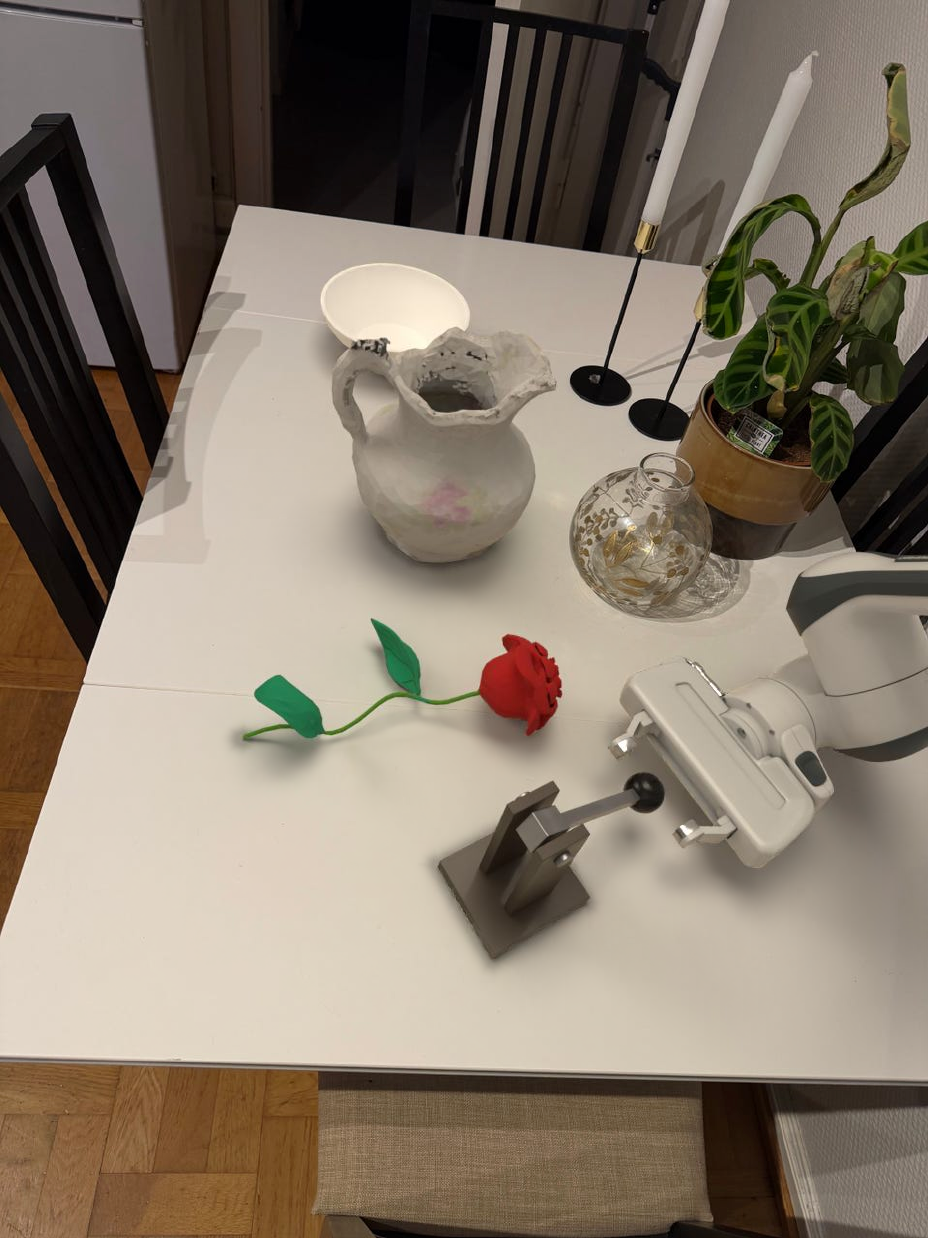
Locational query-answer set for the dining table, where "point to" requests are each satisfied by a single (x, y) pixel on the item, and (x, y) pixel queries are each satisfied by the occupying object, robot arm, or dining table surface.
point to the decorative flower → (507, 686)
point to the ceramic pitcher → (445, 439)
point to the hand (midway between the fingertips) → (645, 794)
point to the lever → (592, 810)
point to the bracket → (516, 876)
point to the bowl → (392, 306)
